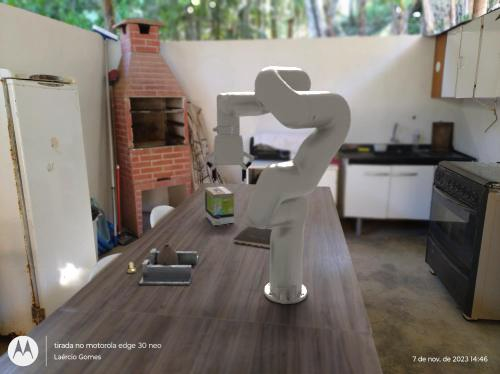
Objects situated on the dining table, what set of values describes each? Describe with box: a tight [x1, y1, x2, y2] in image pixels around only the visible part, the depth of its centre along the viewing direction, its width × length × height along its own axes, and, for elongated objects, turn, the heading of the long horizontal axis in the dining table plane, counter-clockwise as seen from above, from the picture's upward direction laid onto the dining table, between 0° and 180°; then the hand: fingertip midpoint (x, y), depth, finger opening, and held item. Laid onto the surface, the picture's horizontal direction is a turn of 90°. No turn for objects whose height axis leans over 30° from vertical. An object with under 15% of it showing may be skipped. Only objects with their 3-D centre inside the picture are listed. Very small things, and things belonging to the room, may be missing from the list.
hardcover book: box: [233, 225, 273, 249], centre depth 153 cm, size 16×23×2 cm
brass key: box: [127, 261, 137, 274], centre depth 128 cm, size 7×3×1 cm, turn 19°
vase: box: [156, 243, 179, 265], centre depth 126 cm, size 7×7×9 cm
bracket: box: [138, 248, 200, 286], centre depth 126 cm, size 20×16×5 cm
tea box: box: [204, 185, 235, 226], centre depth 175 cm, size 15×10×15 cm, turn 22°
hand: (229, 180), depth 130 cm, fingers open, 9 cm apart
